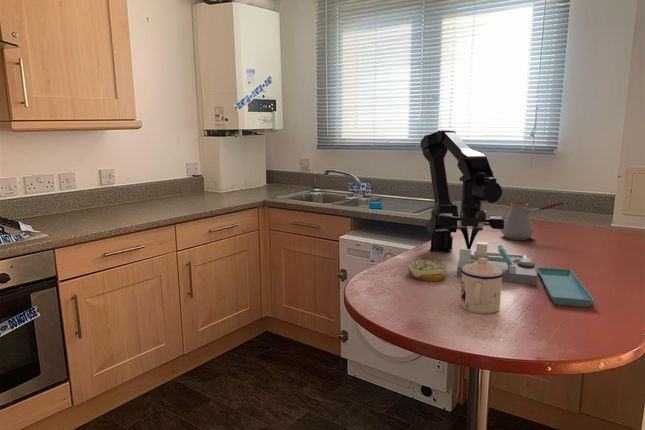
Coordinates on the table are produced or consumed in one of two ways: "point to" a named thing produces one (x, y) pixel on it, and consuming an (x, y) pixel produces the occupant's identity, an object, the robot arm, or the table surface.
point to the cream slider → (481, 248)
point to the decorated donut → (427, 270)
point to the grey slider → (465, 256)
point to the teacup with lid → (481, 287)
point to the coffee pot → (521, 221)
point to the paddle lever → (505, 256)
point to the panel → (508, 267)
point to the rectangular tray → (565, 287)
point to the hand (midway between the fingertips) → (468, 249)
